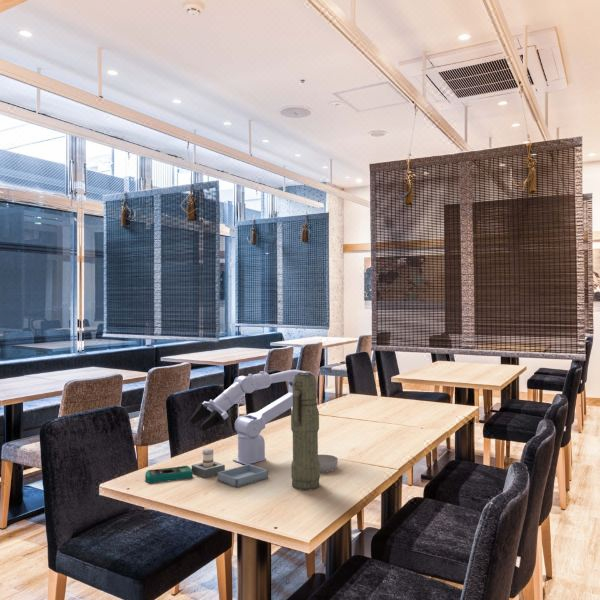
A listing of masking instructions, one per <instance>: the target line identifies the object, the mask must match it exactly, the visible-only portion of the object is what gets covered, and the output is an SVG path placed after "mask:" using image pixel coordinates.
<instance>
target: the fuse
mask: <svg viewBox="0 0 600 600" xmlns="http://www.w3.org/2000/svg"><path fill="white" fill-rule="evenodd" d="M213 461H214V449H213V448H208V449H207V448H205V449H203V450H202V463H203V467H204V468H209V467H213Z"/></svg>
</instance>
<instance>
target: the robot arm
mask: <svg viewBox="0 0 600 600" xmlns="http://www.w3.org/2000/svg"><path fill="white" fill-rule="evenodd" d="M298 373H312V371H308V370H307V371H306V370H299V369H297V368H295V369H286V370H283V371H280V372H276V373H272V374H269V373H268V372H266V371H263V370H261V371H259V372H258V373H255V374H253V373H248V374H247V375H246V376H245V375H240V376H236V377H235V378H234V381H233V383H232V384H231V385H230V386H229V387H228V388H227V389H225V390H223V392H221V393H220V394H219V395H218V396H217V397H215V398H214V399H209V401H206V400H204V401H203V402H198V405H197V408H196V410H195V411H194V413H193V414H192V416H191V417H190V418H189V423H190V424H191V425H195V424H197V423H198V422H200V421H201V420H202V419H204V418H206V417H208V418H207V419H205V421H203V422H202V424H201V425H200V426H199V427H200V428H201V430H202V432H205V431H208V430H209V429H211V428H213V427H215V426H219V425H223V424H224V421H223V420H226V419H227V418H229V414H228V412H227V411H228V410H229V409H230V408H231V407H233V406H234V405H235V404H236V403H237V402H238V401H240V399H241V398H243V397H244V396H245V395H246V394H252V393H253V392H255V391H258V390H262V389H263V390H264V389H267V388H269V387H270V386H271V384H275V383H281V382H287V383H288V392H287V393H286V394H284V395H283V396H281V397H279V398H278V399H275V400H274V401H272V402H270V404H267V405H266V406H264V407H263V408H262V409H259V410H258V411H256V412H250V413H248V414H246V415H240V416H238V417H237V418H236V420H235V421H234V430H235V431H236V432H237V458H233V459H232V461H233V462H237V463H240V464H243V465H247V464H250V465H253V464H254V463H259V462H262V461H265V460H267V458H266V451H265V450H266V446H265V445H266V443H265V442H266V441H265V438H264V437H263V435H262V434H261V432H262V430H264V429H266V424H268V423H269V422H270V421H272V420H274V419H275V418H277V417H278V416H280V415H281V414H284V413H286V411H288V410H290V409H292V408H293V380H294V377H295V375H297V374H298ZM209 411H210V413H209Z"/></svg>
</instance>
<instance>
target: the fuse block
mask: <svg viewBox="0 0 600 600" xmlns="http://www.w3.org/2000/svg"><path fill="white" fill-rule="evenodd" d="M191 469H192V474H193V475H194V474H195V475H197V476H200V477H202V478H205V479H206V478H209V477H213V476H218V475H217V473H218V472H221V471H225V470H226V467H225V464H222V463H220V462H216V461H214V460H213V467H209V468H204V467H203V462H200V463H195V464H192V465H191Z"/></svg>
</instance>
